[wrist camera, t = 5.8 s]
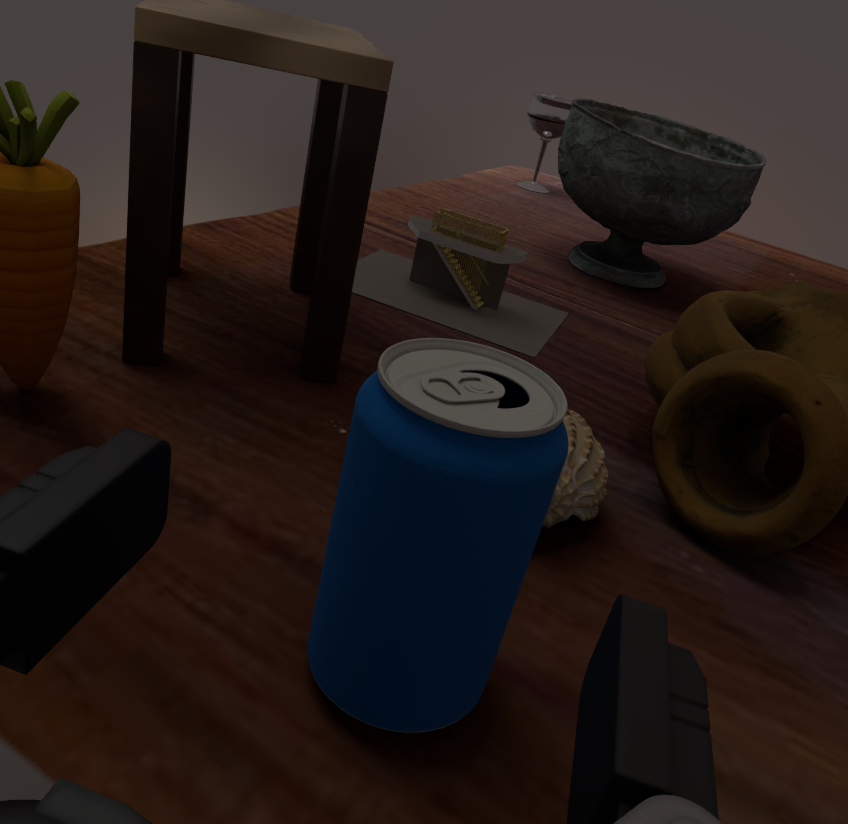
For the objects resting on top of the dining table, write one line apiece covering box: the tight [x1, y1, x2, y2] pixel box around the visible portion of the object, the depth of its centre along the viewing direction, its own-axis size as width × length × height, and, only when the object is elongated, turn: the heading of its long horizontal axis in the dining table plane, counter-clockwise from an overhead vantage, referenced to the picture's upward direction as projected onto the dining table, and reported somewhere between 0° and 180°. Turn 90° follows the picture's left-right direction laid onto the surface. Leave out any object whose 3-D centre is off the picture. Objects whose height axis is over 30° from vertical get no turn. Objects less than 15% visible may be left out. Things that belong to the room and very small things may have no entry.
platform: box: [352, 208, 569, 357], centre depth 63 cm, size 12×18×7 cm, turn 68°
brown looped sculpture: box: [645, 281, 848, 554], centre depth 47 cm, size 18×13×22 cm
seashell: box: [542, 409, 608, 528], centre depth 40 cm, size 8×6×10 cm
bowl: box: [558, 99, 766, 288], centre depth 78 cm, size 20×19×15 cm
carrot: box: [0, 80, 80, 390], centre depth 36 cm, size 5×5×15 cm
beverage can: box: [308, 338, 569, 733], centre depth 26 cm, size 6×6×12 cm
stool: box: [122, 0, 393, 382], centre depth 48 cm, size 12×16×18 cm
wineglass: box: [516, 92, 572, 193], centre depth 109 cm, size 7×7×12 cm
